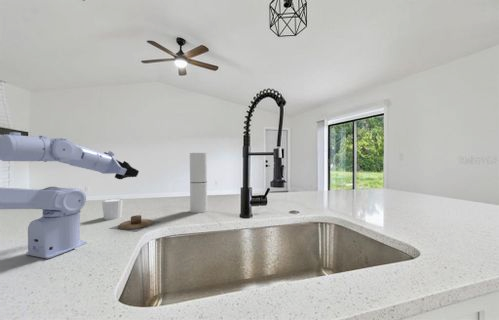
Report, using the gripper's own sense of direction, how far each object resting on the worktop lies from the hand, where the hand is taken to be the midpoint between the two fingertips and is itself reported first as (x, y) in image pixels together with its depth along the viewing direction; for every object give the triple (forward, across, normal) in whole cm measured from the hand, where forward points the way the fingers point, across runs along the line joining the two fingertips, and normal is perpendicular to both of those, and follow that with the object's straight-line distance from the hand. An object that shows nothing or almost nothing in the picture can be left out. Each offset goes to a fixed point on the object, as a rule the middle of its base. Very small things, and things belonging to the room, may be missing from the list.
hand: (129, 170), depth 76 cm
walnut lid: (+5, -8, +16) cm, 19 cm away
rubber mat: (+5, -9, +16) cm, 19 cm away
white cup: (+9, +7, +20) cm, 23 cm away
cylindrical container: (+28, -15, +7) cm, 33 cm away
